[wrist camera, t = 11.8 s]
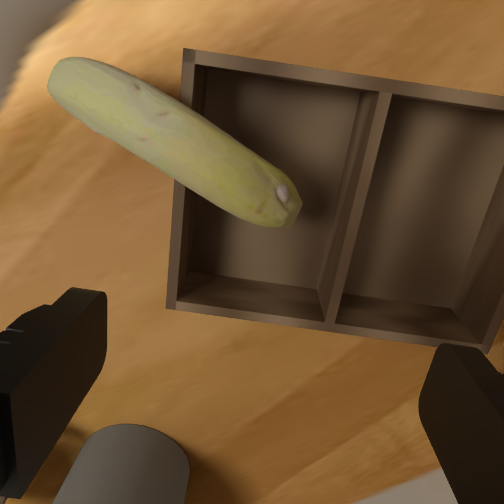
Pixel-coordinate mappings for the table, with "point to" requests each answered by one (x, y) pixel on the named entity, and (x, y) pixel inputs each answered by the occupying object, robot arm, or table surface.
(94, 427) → the table surface
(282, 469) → the table surface
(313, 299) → the walnut crate
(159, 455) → the coffee mug
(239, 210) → the fruit
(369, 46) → the table surface
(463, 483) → the robot arm
